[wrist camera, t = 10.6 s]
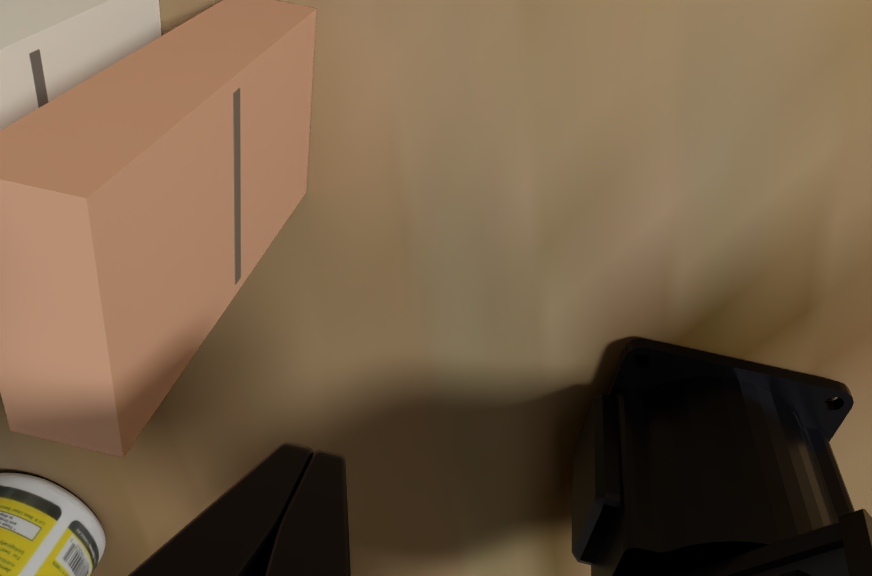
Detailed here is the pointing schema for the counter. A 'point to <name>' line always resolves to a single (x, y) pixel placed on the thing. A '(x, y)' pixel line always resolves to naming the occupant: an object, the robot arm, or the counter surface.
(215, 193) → the terracotta domino
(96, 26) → the ivory domino
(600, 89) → the counter surface
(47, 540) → the pill bottle
